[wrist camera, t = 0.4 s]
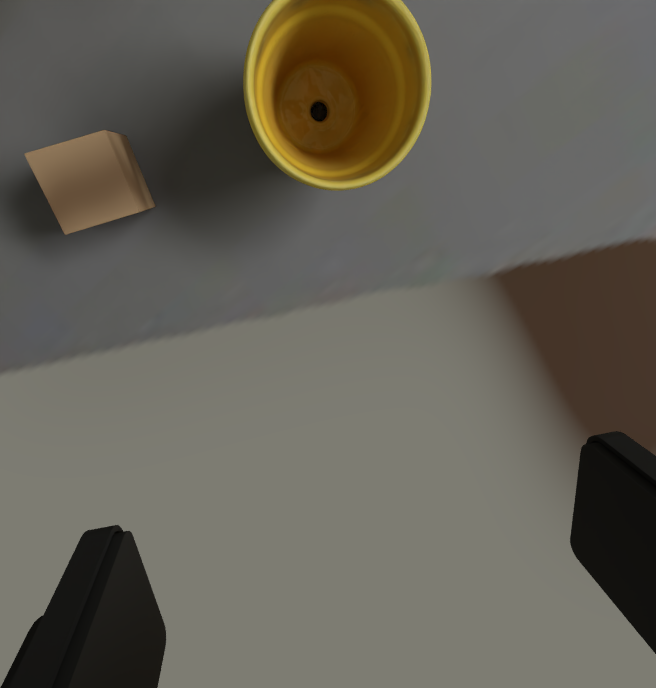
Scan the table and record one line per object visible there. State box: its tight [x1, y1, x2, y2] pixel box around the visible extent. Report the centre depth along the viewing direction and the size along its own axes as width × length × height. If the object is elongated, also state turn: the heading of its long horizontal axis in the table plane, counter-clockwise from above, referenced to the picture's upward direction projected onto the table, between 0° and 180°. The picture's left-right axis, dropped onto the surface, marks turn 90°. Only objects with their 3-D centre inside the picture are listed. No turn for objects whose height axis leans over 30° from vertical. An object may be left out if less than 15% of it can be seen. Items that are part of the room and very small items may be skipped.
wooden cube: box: [25, 130, 156, 235], centre depth 30 cm, size 5×5×5 cm
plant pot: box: [243, 0, 431, 190], centre depth 28 cm, size 10×10×10 cm
